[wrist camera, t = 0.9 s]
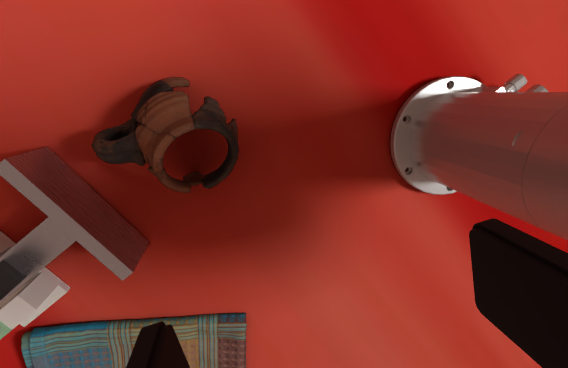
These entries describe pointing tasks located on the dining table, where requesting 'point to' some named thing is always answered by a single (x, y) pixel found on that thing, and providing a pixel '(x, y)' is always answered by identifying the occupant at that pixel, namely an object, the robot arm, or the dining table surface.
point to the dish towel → (122, 337)
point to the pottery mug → (167, 134)
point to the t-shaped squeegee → (64, 221)
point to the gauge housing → (28, 295)
